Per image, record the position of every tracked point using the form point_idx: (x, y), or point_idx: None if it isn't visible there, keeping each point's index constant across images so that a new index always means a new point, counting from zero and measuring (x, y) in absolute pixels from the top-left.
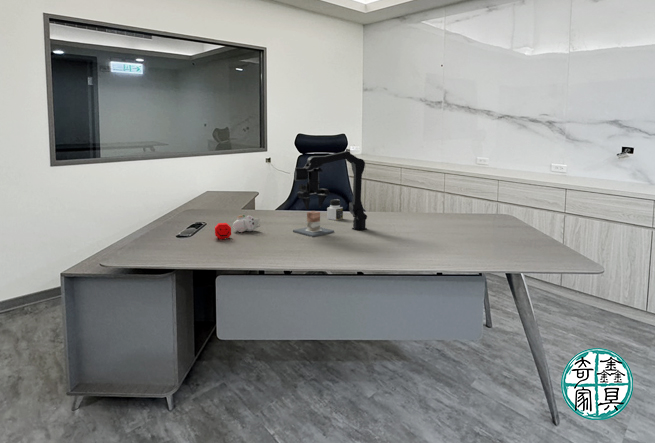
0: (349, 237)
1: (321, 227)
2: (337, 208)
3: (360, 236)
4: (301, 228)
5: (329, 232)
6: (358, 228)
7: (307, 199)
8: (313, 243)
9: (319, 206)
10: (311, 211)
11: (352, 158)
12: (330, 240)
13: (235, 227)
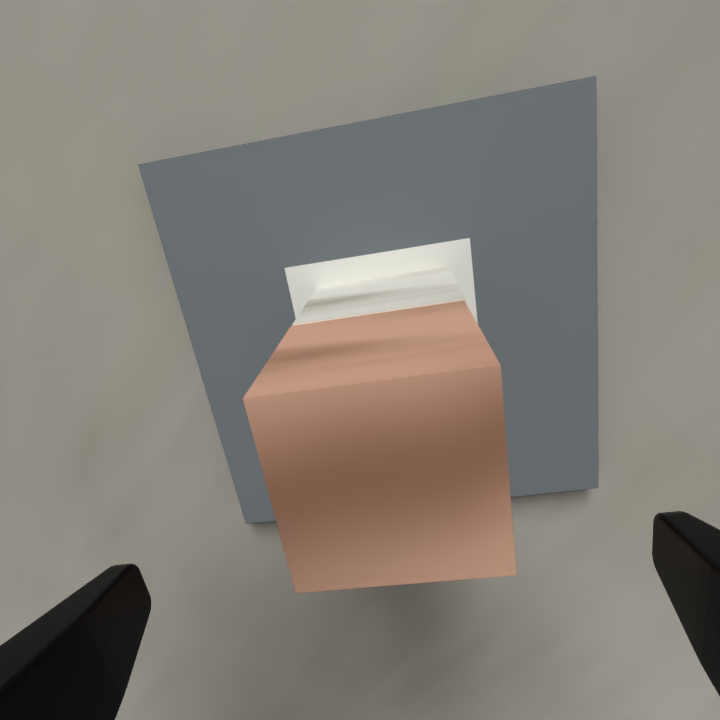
0: (553, 687)
1: (595, 254)
2: None
3: (664, 711)
4: (298, 141)
5: (511, 489)
6: None
7: None
8: (154, 670)
9: (673, 567)
10: (393, 393)
11: None
12: (336, 674)
13: None
